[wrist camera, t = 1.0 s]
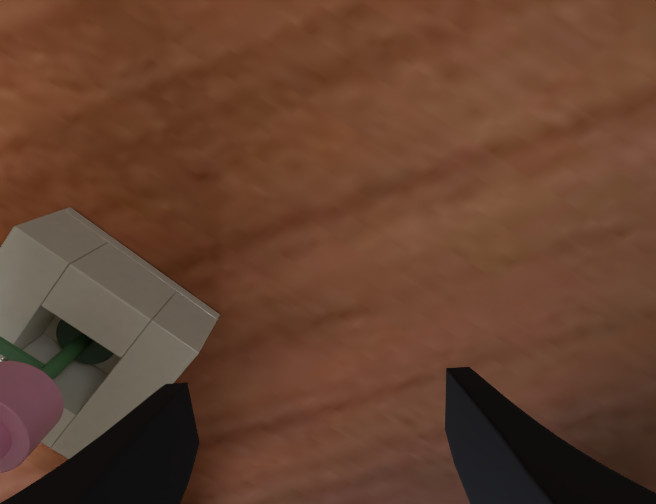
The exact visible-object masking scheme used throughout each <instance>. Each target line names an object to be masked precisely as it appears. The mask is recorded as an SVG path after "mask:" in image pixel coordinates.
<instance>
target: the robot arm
mask: <svg viewBox="0 0 656 504" xmlns="http://www.w3.org/2000/svg"><path fill="white" fill-rule="evenodd" d="M445 431H446V435H447V438H448V442H449V446H450V450H451V453H452V457H453V460H454V464H455V467H456V469H457V472H458V474H459V477H460V479H461V482H462V484H463V487H464V489H465V492H466V494H467V497H468V499H469V501H470V504H656V493H654V492H652V491H651V490H649V489H647V488H645V487H643V486H641V485H639V484H637V483H635V482H633V481H631V480H630V479H628V478H626V477H624V476H622V475H620V474H618V473H617V472H615V471H613V470H611V469H609V468H608V467H606V466H604V465H602V464H601V463H599V462H597V461H596V460H594V459H593V458H591V457H589V456H588V455H586V454H584V453H583V452H581V451H579V450H578V449H576V448H575V447H573V446H571V445H570V444H568V443H567V442H565V441H564V440H562V439H561V438H559V437H558V436H557V435H555V434H554V433H552V432H551V431H549V430H548V429H547V428H545V427H544V426H542V425H541V424H539V423H538V422H537V421H535V420H534V419H533V418H531V417H530V416H529V415H527V414H526V413H525V412H523V411H522V410H521V409H520V408H518V407H517V406H516V405H514V404H513V403H512V402H511V401H509V400H508V399H507V398H506V397H505V396H503V395H502V394H501V393H500V392H498V391H497V390H496V389H495V388H494V387H492V386H491V385H490V384H489V383H488V382H486V381H485V380H484V379H483V378H482V377H481V376H479V375H478V374H477V373H476V372H475V371H473V370H472V369H471V368H470V367H460V368H447V370H446V413H445ZM198 446H199V438H198V433H197V428H196V423H195V418H194V413H193V408H192V403H191V398H190V393H189V388H188V383H173V384H165V385H164V386H162V387H161V388H159V389H158V390H157V391H156V392H154V393H153V394H152V395H150V396H149V397H148V398H147V399H146V400H144V401H143V402H142V403H141V404H139V405H138V406H137V407H136V408H134V409H133V410H132V411H131V412H130V413H128V414H127V415H126V416H125V417H123V418H122V419H121V420H120V421H118V422H117V423H116V424H115V425H113V426H112V427H111V428H110V429H108V430H107V431H106V432H105V433H103V434H102V435H101V436H99V437H98V438H97V439H95V440H94V441H93V442H91V443H90V444H89V445H87V446H86V447H85V448H83V449H82V450H81V451H79V452H78V453H77V454H75V455H74V456H73V457H71V458H70V459H69V460H67V461H66V462H64V463H63V464H61V465H60V466H59V467H57V468H56V469H54V470H53V471H51V472H50V473H48V474H47V475H45V476H44V477H42V478H41V479H39V480H37V481H36V482H34V483H33V484H31V485H30V486H28V487H27V488H25V489H24V490H22V491H20V492H19V493H17V494H15V495H14V496H12V497H10V498H9V499H7V500H5V501H3V502H2V503H0V504H180V502H181V500H182V497H183V494H184V492H185V489H186V487H187V484H188V482H189V479H190V476H191V472H192V469H193V465H194V462H195V458H196V454H197V450H198Z"/></svg>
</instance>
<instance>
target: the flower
mask: <svg viewBox="0 0 656 504" xmlns="http://www.w3.org/2000/svg"><path fill="white" fill-rule="evenodd" d="M56 337H57V341H58V343H59V345H60V347H61V349H62V350H61V351H60V352H59V353H58V354H57V355H56V356H54V357H53V358H52V359H51V360H50V361H49V362H47V363H46V364H44V363H42V362H41V361H39V360H37V359H36V358H34V357H33V356H31V355H29V354H28V353H26V352H25V351H23V350H21V349H20V348H18V347H17V346H15V345H13V344H12V343H10V342H9V341H7V340H5V339H4V338H2V337H1V336H0V354H1V355H3V356H4V357H6V358H7V359H9V360H11V361H3V362H0V473H2V472H7V471H9V470H12V469H14V468H16V467H17V466H19V465H20V464H21V463H22V462H23V461H24V460H25V459H26V458H27V457H28V456H29V454H30V453H31V452H32V451H33V450H34V449H35V448H36V447H37V445H38V444H39V443H40V442H41V441H42V440H43V439H44V438H45V437H46V435H47V434H48V433H49V432H50V431H51V430H52V429H53V428H54V426H55V425H56V424H57V423H58V422H59V420H60V419H61V416H62V414H63V409H64V403H63V397H62V394H61V392H60V390H59V388H58V386H57V385H56V384H55V382H54V381H53V379H54V378H56V377H57V376H58V375H59V374H60V373H61V372H62V371H63V370H64V369H65V368H66V367H67V366H68V365H69V364H70V363H71V362H72V361H73V360H76V361H78V362H81V363H85V364H98V363H102V362H104V361H106V360H108V359H109V358H111V357H112V355H113V354H114V353H112V352H111V351H109V350H108V349H106V348H105V347H103V346H102V345H100V344H99V343H97V342H96V341H94V340H93V339H91V338H90V337H88V336H87V335H85V334H83V333H82V332H80V331H79V330H77V329H76V328H74V327H73V326H71V325H70V324H68V323H67V322H65V321H64V320H62V319H61V320H60V321H59V323H58V326H57V329H56Z"/></svg>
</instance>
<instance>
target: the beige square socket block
mask: <svg viewBox="0 0 656 504" xmlns="http://www.w3.org/2000/svg"><path fill="white" fill-rule="evenodd" d="M219 316H220V314H218V313H217V312H216V311H214V310H213V309H212V308H210V307H209V306H207V305H206V304H205V303H203V302H202V301H200V300H199V299H198V298H196V297H195V296H193V295H192V294H191V293H189V292H188V291H186V290H185V289H184V288H182V287H181V286H179V285H178V284H177V283H175V282H174V281H172V280H171V279H170V278H168V277H167V276H166V275H164V274H163V273H161V272H160V271H159V270H157V269H156V268H154V267H153V266H152V265H150V264H149V263H147V262H146V261H145V260H143V259H142V258H140V257H139V256H138V255H136V254H135V253H133V252H132V251H131V250H129V249H128V248H127V247H125V246H124V245H122V244H121V243H120V242H118V241H117V240H115V239H114V238H113V237H111V236H110V235H108V234H107V233H106V232H104V231H103V230H101V229H100V228H99V227H97V226H96V225H94V224H93V223H92V222H90V221H89V220H87V219H86V218H85V217H83V216H82V215H81V214H79V213H78V212H76V211H75V210H74V209H72V208H71V207H68V208H65V209H63V210H59V211H56V212H54V213H51V214H48V215H45V216H42V217H39V218H36V219H33V220H30V221H27V222H24V223H21V224H19V225H16V226H14V227H13V228H12V230H11V231H10V233H9V235H8V236H7V238H6V239H5V241H4V243H3V244H2V246H1V247H0V336H1V337H2V338H4V339H5V340H7V341H9V342H10V343H12V344H13V345H15V346H17V347H18V348H20V349H21V350H23V351H25V352H26V353H28V354H29V355H31V356H33V357H34V358H36V359H37V360H39V361H41V362H42V363H44V364H46V363H47V362H49V361H50V360H51V359H52V358H53V357H54V356H56V355H57V354H58V353H59V352H60V351H61V350H62V349H61V347H60V345H59V343H58V341H57V337H56V329H57V326H58V323H59V321H60V320H61V319H62V320H64V321H65V322H67V323H68V324H70V325H71V326H73V327H74V328H76V329H77V330H79V331H80V332H82V333H83V334H85V335H87V336H88V337H90V338H91V339H93V340H94V341H96V342H97V343H99V344H100V345H102V346H103V347H105V348H106V349H108V350H109V351H111V352H112V353H114V354H113V355H112V357H111V358H109V359H108V360H106V361H104V362H102V363H98V364H85V363H81V362H78V361H76V360H73V361H72V362H71V363H70V364H69V365H68V366H67V367H66V368H65V369H64V370H63V371H62V372H61V373H60V374H59V375H58V376H57V377H56V378H54V379H53V381H54V382H55V384H56V385H57V386H58V388H59V390H60V392H61V394H62V397H63V403H64V409H63V414H62V416H61V419H60V420H59V422H58V423H57V424H56V425H55V426H54V428H53V429H52V430H51V431H50V432H49V433H48V434H47V435H46V437H45V438H44V439H43V440H42V441H41V443H42V444H44V445H46V446H48V447H51V449H52V450H54V451H56V452H58V453H59V454H61V455H63V456H64V457H66V458H68V459H70V458H71V457H73V456H74V455H75V454H77V453H78V452H79V451H81V450H82V449H83V448H85V447H86V446H87V445H89V444H90V443H91V442H93V441H94V440H95V439H97V438H98V437H99V436H101V435H102V434H103V433H105V432H106V431H107V430H108V429H110V428H111V427H112V426H113V425H115V424H116V423H117V422H118V421H120V420H121V419H122V418H123V417H125V416H126V415H127V414H128V413H130V412H131V411H132V410H133V409H134V408H136V407H137V406H138V405H139V404H141V403H142V402H143V401H144V400H146V399H147V398H148V397H149V396H150V395H152V394H153V393H154V392H156V391H157V390H158V389H159V388H161V387H162V386H164V385H165V384H173V383H174V382H175V381H176V380H177V379H178V377H179V376H180V375H181V374H182V373H183V372H184V370H185V369H186V368H187V367H188V366H189V365H190V363H191V362H192V361H193V360H194V359H195V358H196V356H197V355H198V354H199V352H200V351H201V349H202V347H203V345H204V343H205V342H206V340H207V338H208V336H209V335H210V333H211V331H212V329H213V327H214V326H215V324H216V322H217V320H218V318H219ZM3 361H11V360H9V359H7V358H6V357H4V356H3V355H1V354H0V362H3Z"/></svg>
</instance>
